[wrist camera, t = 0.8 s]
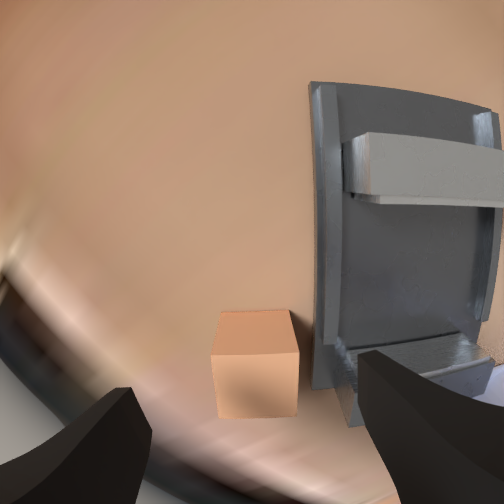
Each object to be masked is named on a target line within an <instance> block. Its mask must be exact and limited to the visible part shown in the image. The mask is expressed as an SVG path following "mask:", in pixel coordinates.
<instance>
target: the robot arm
mask: <svg viewBox="0 0 504 504" xmlns="http://www.w3.org/2000/svg"><path fill="white" fill-rule="evenodd" d="M357 366H358V400H357V403H358V405H359V408H360V411H361V414H362V417H363V420H364V423H365V426H366V428H367V430H368V432H369V434H370V436H371V438H372V440H373V442H374V444H375V446H376V448H377V450H378V452H379V454H380V456H381V458H382V460H383V462H384V464H385V466H386V468H387V470H388V472H389V474H390V476H391V478H392V480H393V482H394V484H395V487H396V489H397V492H398V495H399V498H400V501H401V504H504V364H502V365H499V366H496V367H494V368H493V371H492V374H491V376H490V379H489V382H488V385H487V387H486V390H485V393H484V394H482V395H479V396H476V397H473V398H470V397H467V396H464V395H461V394H459V393H456V392H454V391H451V390H449V389H447V388H445V387H443V386H440V385H438V384H436V383H434V382H432V381H430V380H428V379H426V378H424V377H422V376H420V375H419V374H417V373H415V372H413V371H411V370H410V369H408V368H406V367H404V366H403V365H401V364H399V363H398V362H396V361H394V360H393V359H391V358H389V357H388V356H386V355H384V354H383V353H381V352H379V351H378V350H376V349H375V350H372V351H368V352H364V353H360V354H357ZM151 438H152V429H151V427H150V425H149V423H148V421H147V419H146V417H145V415H144V413H143V411H142V409H141V407H140V405H139V403H138V401H137V399H136V397H135V394H134V392H133V390H132V388H131V387H125V388H115V389H113V390H112V391H110V392H109V393H107V394H106V395H105V396H104V397H102V398H101V399H100V400H99V401H97V402H96V403H95V404H94V405H93V406H91V407H90V408H89V409H88V410H87V411H85V412H84V413H83V414H82V415H80V416H79V417H78V418H77V419H76V420H74V421H73V422H72V423H71V424H69V425H68V426H66V427H65V428H64V429H62V430H61V431H60V432H59V433H57V434H56V435H54V436H53V437H52V438H50V439H49V440H47V441H46V442H44V443H43V444H41V445H40V446H38V447H36V448H34V449H33V450H31V451H29V452H28V453H26V454H24V455H22V456H20V457H17V458H15V459H13V460H11V461H8V462H6V463H4V464H2V465H0V504H135V503H136V499H137V495H138V492H139V488H140V485H141V482H142V478H143V475H144V472H145V468H146V464H147V461H148V457H149V452H150V446H151Z"/></svg>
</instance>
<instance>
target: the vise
mask: <svg viewBox="0 0 504 504" xmlns="http://www.w3.org/2000/svg"><path fill="white" fill-rule="evenodd" d="M308 89H309V102H310V117H311V134H312V155H313V181H314V237H315V257H314V314H313V340H312V361H311V378H310V384H311V388H312V390H318V389H328V388H335V391H336V394H337V397H338V399H339V402H340V405H341V408H342V411H343V413H344V416H345V419H346V422H347V425H348V428H350V427H357V426H363V425H365V423H364V420H363V417H362V414H361V411H360V408H359V405H358V403H357V400H358V366H357V354H360V353H364V352H368V351H372V350H375V349H376V350H378V351H379V352H381V353H383V354H384V355H386V356H388V357H389V358H391V359H393V360H394V361H396V362H398V363H399V364H401V365H403V366H404V367H406V368H408V369H410V370H411V371H413V372H415V373H417V374H419V375H420V376H422V377H424V378H426V379H428V380H430V381H432V382H434V383H436V384H438V385H440V386H443V387H445V388H447V389H449V390H451V391H454V392H456V393H459V394H461V395H464V396H467V397H470V398H473V397H476V396H479V395H482V394H484V393H485V390H486V387H487V385H488V382H489V379H490V376H491V374H492V371H493V368H494V365H495V362H496V361H495V360H494V359H493V358H491V357H490V355H489V354H488V353H487V352H485V351H484V350H483V349H482V348H481V347H480V346H478V345H477V344H476V343H477V339H478V335H479V331H480V326H481V322H484V321H488V318H489V314H490V309H491V304H492V299H493V293H494V288H495V282H496V275H497V268H498V260H499V252H500V242H501V229H502V211H503V208H498V207H479V206H455V205H419V204H377V203H372V202H367V201H362V200H356V199H354V193H353V192H344V163H343V143H344V142H346V141H349V140H351V139H353V138H356V137H358V136H360V135H363V134H365V133H368V132H374V133H387V134H398V135H408V136H417V137H426V138H433V139H441V140H448V141H454V142H460V143H466V144H472V145H478V146H483V147H488V148H493V149H498V150H502V146H501V134H500V124H499V116H498V113H494V112H492V111H491V109H488V108H485V107H481V106H477V105H474V104H470V103H466V102H462V101H458V100H453V99H449V98H444V97H440V96H435V95H430V94H424V93H419V92H413V91H407V90H400V89H394V88H386V87H378V86H369V85H360V84H348V83H335V82H315V81H311V82H310V83H309V85H308Z"/></svg>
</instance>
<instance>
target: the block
mask: <svg viewBox="0 0 504 504" xmlns="http://www.w3.org/2000/svg"><path fill="white" fill-rule="evenodd" d="M211 363H212V371H213V379H214V387H215V394H216V402H217V409H218V416H219V418H220V419H246V418H276V417H292V416H297V400H298V378H299V349H298V345H297V341H296V337H295V333H294V329H293V325H292V321H291V318H290V314H289V310H279V311H254V312H221V315H220V319H219V323H218V327H217V331H216V336H215V340H214V344H213V348H212V352H211Z"/></svg>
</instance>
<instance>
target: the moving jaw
mask: <svg viewBox="0 0 504 504" xmlns="http://www.w3.org/2000/svg"><path fill="white" fill-rule="evenodd" d="M343 163H344V192H353V193H354V199H356V200H362V201H367V202H372V203H377V204H419V205H455V206H479V207H498V208H504V151H503V150H498V149H493V148H488V147H483V146H478V145H472V144H466V143H460V142H454V141H448V140H441V139H433V138H426V137H417V136H408V135H398V134H387V133H374V132H368V133H365V134H363V135H360V136H358V137H356V138H353V139H351V140H349V141H346V142H344V143H343Z"/></svg>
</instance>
